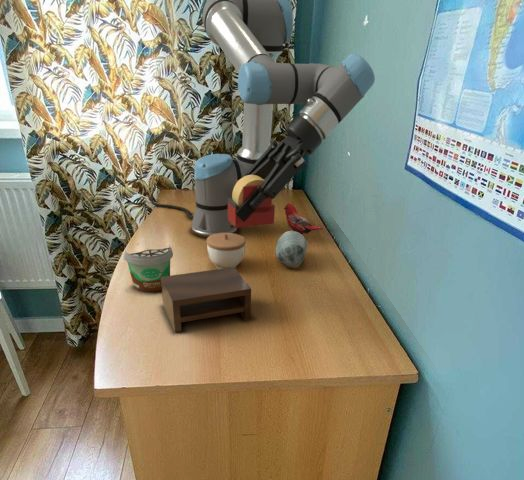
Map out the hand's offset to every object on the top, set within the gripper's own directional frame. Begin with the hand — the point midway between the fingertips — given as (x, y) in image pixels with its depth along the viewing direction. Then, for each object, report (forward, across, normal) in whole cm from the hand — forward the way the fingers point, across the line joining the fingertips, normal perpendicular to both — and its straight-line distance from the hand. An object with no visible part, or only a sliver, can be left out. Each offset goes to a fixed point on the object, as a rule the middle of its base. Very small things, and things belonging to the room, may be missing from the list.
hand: (235, 212), depth 98 cm
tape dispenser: (-1, 0, +4) cm, 4 cm away
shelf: (+22, +1, +11) cm, 24 cm away
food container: (+28, -15, +5) cm, 32 cm away
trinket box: (+13, -23, +20) cm, 34 cm away
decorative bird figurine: (-8, -36, +42) cm, 55 cm away
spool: (-1, -20, +34) cm, 40 cm away
